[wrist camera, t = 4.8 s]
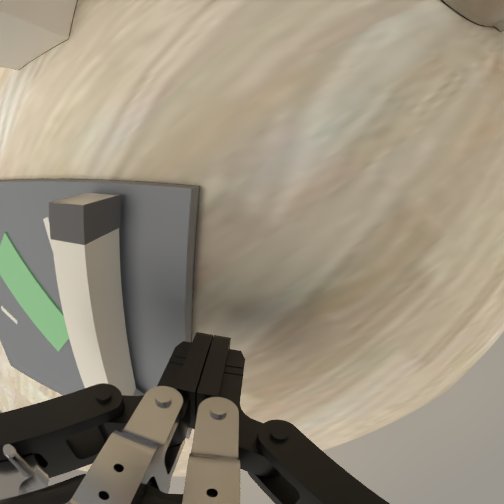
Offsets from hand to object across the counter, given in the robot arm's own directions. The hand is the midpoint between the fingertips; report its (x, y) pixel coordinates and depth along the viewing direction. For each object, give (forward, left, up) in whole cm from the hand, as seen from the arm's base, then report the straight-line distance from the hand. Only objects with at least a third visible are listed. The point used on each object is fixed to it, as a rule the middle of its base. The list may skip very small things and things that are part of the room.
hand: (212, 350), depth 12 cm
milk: (+16, -19, -4) cm, 26 cm away
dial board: (+12, +3, -4) cm, 13 cm away
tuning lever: (+6, +3, -2) cm, 7 cm away
